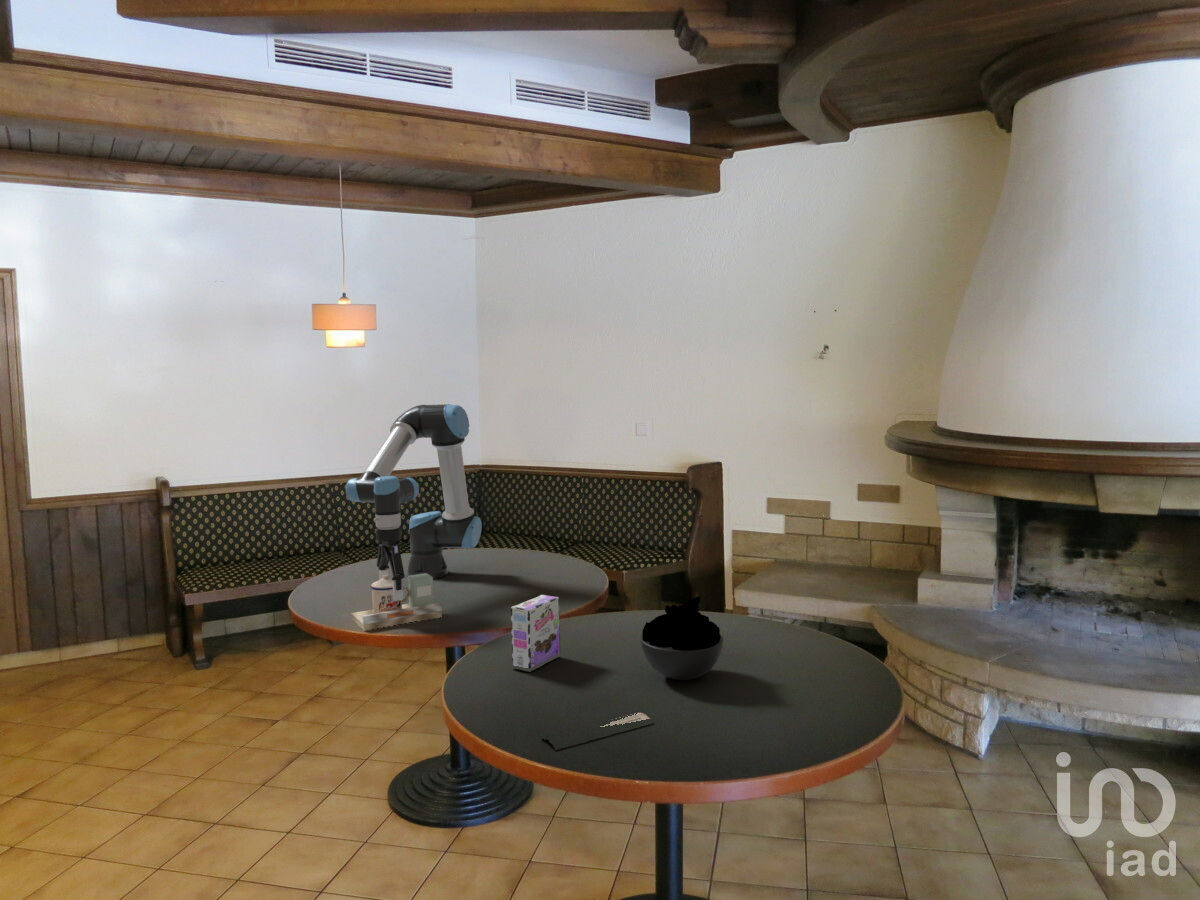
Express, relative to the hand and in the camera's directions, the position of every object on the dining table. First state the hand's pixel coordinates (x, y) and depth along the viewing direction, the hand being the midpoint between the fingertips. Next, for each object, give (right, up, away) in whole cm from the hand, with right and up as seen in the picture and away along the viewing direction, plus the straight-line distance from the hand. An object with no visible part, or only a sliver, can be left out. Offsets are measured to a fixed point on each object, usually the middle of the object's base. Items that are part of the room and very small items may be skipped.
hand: (391, 595), depth 260 cm
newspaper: (+64, -15, -83) cm, 105 cm away
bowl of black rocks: (+84, -11, -54) cm, 100 cm away
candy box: (+48, -11, -42) cm, 64 cm away
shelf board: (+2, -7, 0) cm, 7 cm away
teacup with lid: (0, -5, +1) cm, 5 cm away
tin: (+8, -5, +4) cm, 10 cm away
